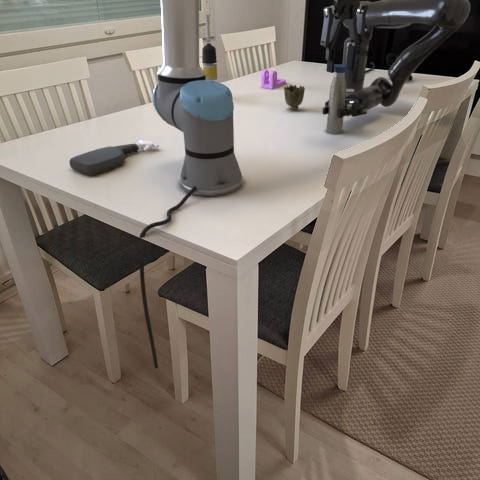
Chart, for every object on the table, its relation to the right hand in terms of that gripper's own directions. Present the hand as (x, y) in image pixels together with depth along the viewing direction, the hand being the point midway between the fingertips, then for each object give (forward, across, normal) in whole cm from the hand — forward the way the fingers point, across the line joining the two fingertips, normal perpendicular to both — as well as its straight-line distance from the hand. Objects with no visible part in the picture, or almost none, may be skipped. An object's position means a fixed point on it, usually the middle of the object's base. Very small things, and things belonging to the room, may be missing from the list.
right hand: (331, 112), depth 137 cm
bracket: (-39, -54, +7) cm, 67 cm away
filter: (-6, -60, +7) cm, 60 cm away
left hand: (-3, 0, -12) cm, 12 cm away
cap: (-3, 0, -13) cm, 13 cm away
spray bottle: (+57, -33, +7) cm, 66 cm away
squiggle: (-82, -16, +7) cm, 84 cm away
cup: (-14, -25, +7) cm, 29 cm away
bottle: (-3, 0, +7) cm, 7 cm away
